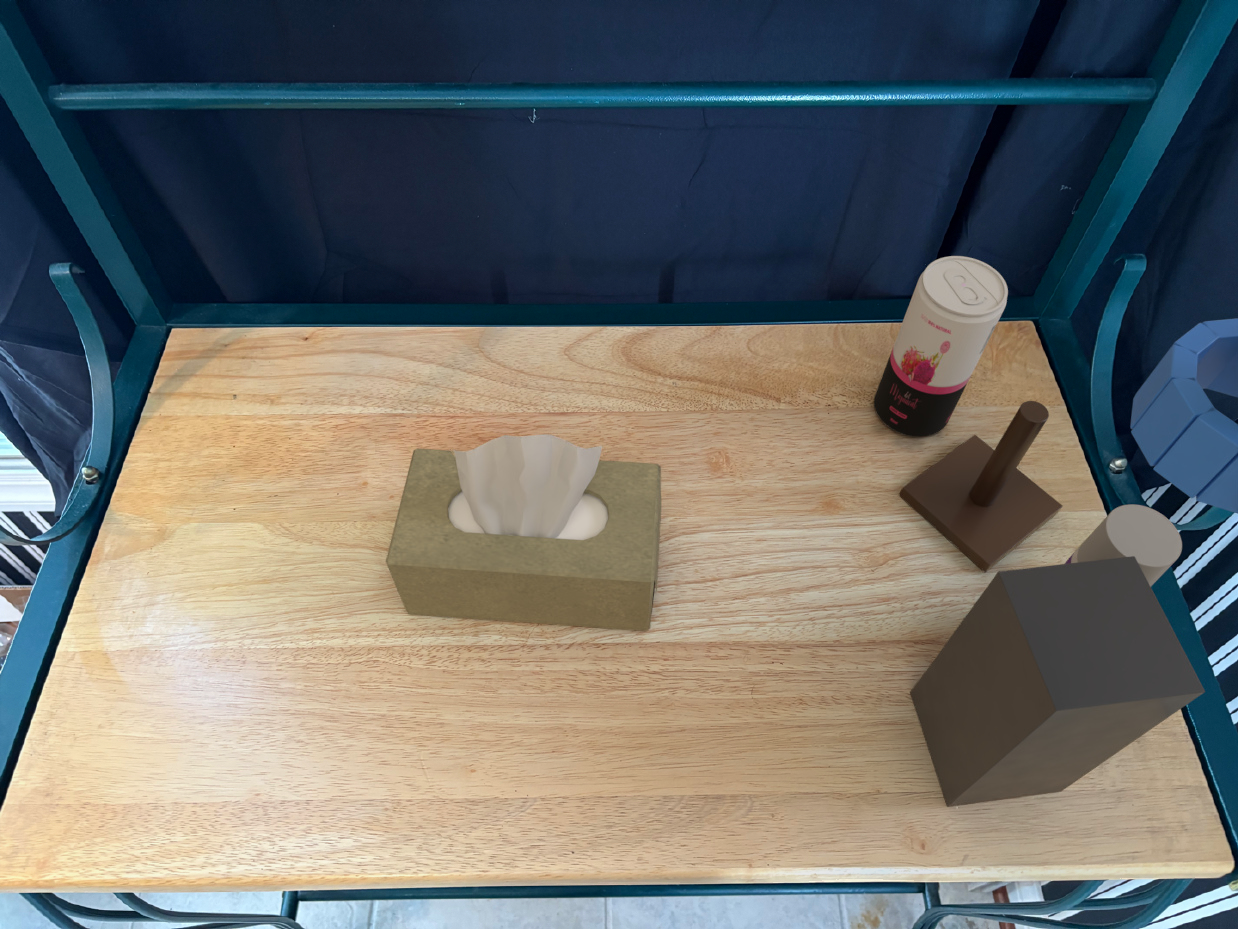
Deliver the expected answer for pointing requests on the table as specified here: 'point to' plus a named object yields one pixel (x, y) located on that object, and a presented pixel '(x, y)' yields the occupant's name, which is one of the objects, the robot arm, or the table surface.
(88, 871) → the table surface
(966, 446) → the stand
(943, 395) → the beverage can
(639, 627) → the tissue box
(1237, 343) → the ring
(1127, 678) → the pedestal
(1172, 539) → the container
